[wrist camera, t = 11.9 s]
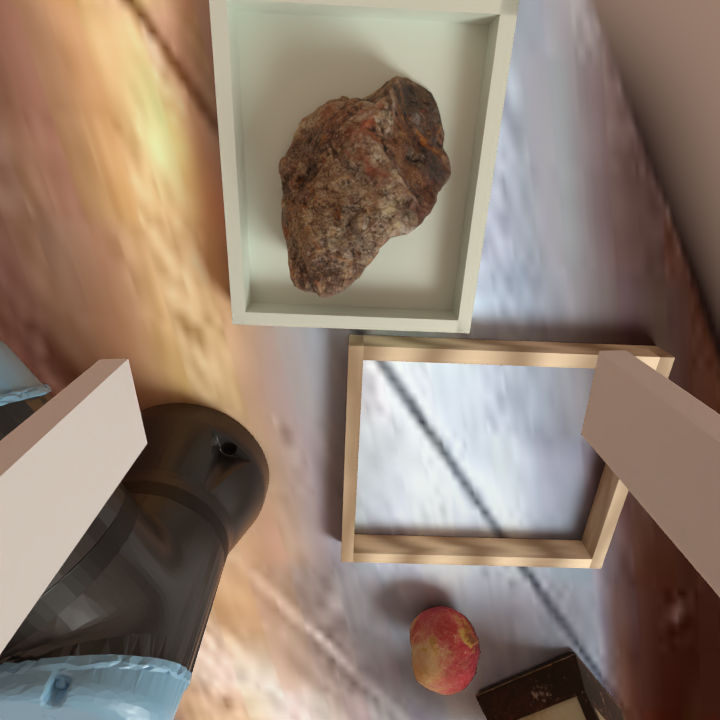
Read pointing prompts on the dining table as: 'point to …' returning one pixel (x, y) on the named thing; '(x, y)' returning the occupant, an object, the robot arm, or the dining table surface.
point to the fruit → (443, 650)
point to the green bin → (357, 80)
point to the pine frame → (471, 548)
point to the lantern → (550, 694)
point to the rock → (359, 181)
